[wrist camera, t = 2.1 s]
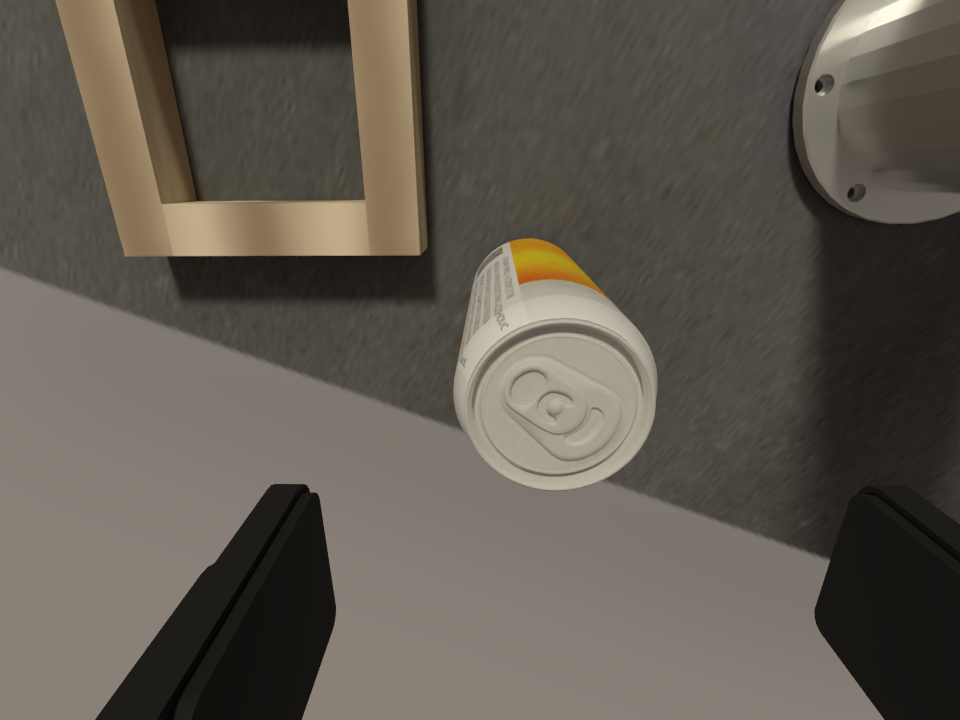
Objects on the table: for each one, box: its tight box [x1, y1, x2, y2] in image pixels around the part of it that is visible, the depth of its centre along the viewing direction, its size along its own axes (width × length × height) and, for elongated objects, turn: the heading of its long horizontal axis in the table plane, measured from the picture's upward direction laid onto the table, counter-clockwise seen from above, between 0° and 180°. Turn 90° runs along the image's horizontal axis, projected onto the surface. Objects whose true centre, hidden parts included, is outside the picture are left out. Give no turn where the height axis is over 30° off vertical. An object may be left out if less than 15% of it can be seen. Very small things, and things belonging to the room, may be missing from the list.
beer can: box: [454, 239, 658, 491], centre depth 20 cm, size 6×6×15 cm
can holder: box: [56, 0, 428, 256], centre depth 23 cm, size 15×15×3 cm
